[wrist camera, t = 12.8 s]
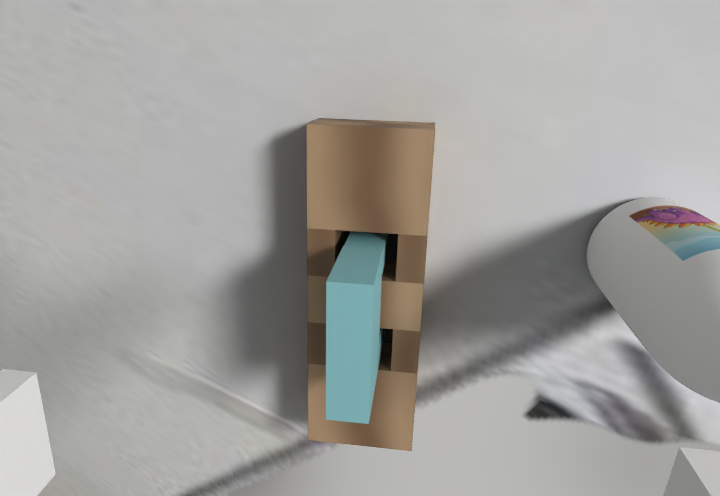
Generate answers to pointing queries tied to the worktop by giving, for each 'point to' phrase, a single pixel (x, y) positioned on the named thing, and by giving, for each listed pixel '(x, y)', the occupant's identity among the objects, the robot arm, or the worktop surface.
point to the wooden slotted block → (399, 278)
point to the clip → (354, 327)
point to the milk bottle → (664, 285)
